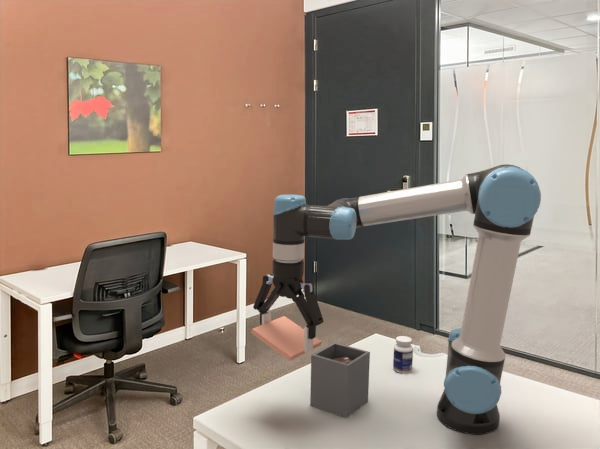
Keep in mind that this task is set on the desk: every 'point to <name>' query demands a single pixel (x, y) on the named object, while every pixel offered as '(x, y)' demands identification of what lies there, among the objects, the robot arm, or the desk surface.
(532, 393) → the desk surface
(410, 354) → the pill bottle
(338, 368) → the bin
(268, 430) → the desk surface
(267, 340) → the lid
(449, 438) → the desk surface
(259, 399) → the desk surface
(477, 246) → the robot arm
